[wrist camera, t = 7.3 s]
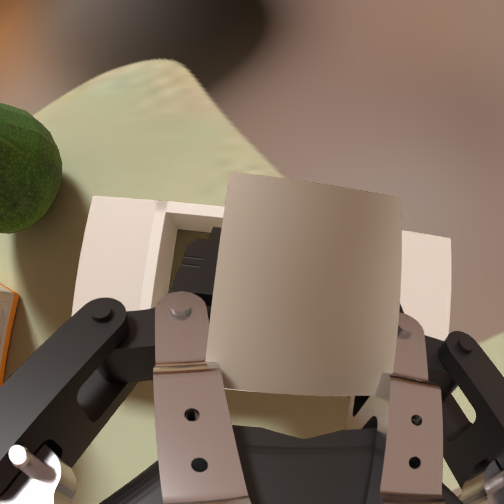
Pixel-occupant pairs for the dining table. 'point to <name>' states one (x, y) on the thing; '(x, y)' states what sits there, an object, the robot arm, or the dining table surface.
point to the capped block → (305, 287)
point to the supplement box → (6, 323)
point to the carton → (203, 219)
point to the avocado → (26, 169)
